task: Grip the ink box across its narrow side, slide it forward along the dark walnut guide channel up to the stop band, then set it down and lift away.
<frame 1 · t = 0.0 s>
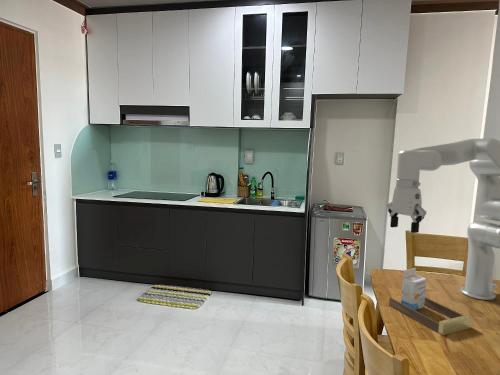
hand: (403, 229, 128), 31 cm above the table, tool pointing down, fingers open, 9 cm apart
ink box: (412, 307, 134), on the table
slide guide: (431, 317, 126), on the table
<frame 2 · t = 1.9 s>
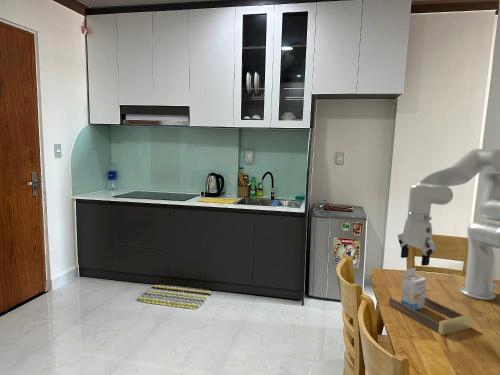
hand: (414, 261, 132), 18 cm above the table, tool pointing down, fingers open, 9 cm apart
nothing on the table moved.
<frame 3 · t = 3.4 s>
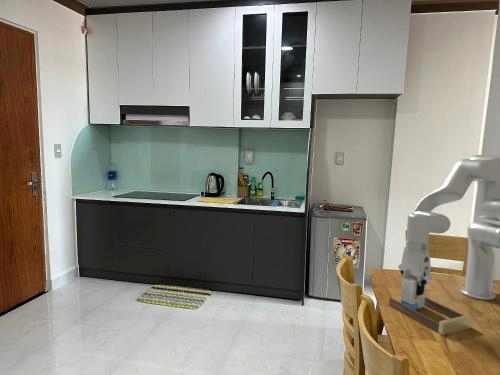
hand: (413, 291, 133), 7 cm above the table, tool pointing down, fingers closed on ink box, 5 cm apart
ink box: (412, 307, 134), on the table, touching gripper
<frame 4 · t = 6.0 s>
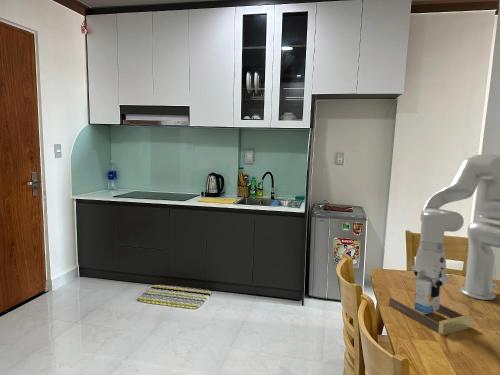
hand: (427, 292, 127), 8 cm above the table, tool pointing down, fingers closed on ink box, 5 cm apart
ink box: (426, 309, 128), point 2 cm above the table, touching gripper
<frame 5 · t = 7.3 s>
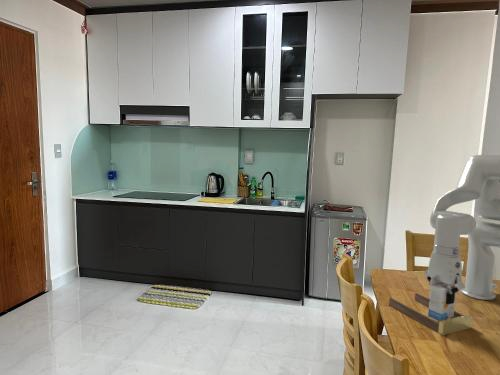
hand: (441, 299, 122), 8 cm above the table, tool pointing down, fingers closed on ink box, 5 cm apart
ink box: (440, 317, 123), point 2 cm above the table, touching gripper
when the fingers open (7 cm above the table, at t = 8.5 s): ink box stays where it is, on the table.
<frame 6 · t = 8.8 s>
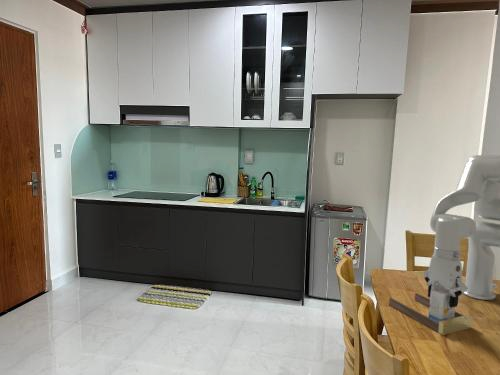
hand: (442, 301, 122), 8 cm above the table, tool pointing down, fingers open, 8 cm apart
ink box: (441, 322, 123), on the table
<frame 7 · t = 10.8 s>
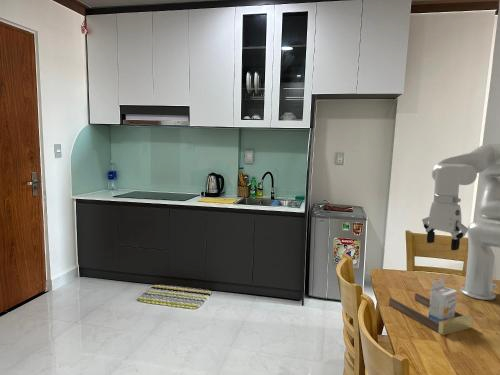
hand: (442, 246, 125), 26 cm above the table, tool pointing down, fingers open, 9 cm apart
nothing on the table moved.
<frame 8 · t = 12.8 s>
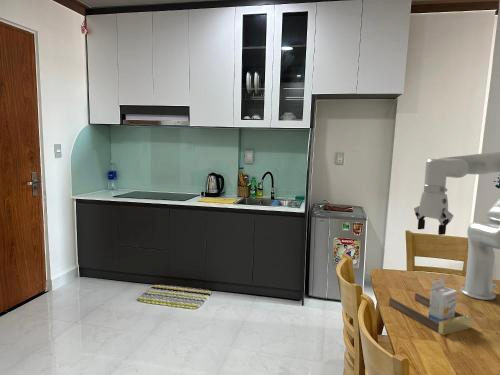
hand: (431, 231, 139), 28 cm above the table, tool pointing down, fingers open, 9 cm apart
nothing on the table moved.
at the end: ink box inside the target area (0.7 cm from its centre), on the table; ink box tilted 0°; the gripper is holding nothing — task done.
